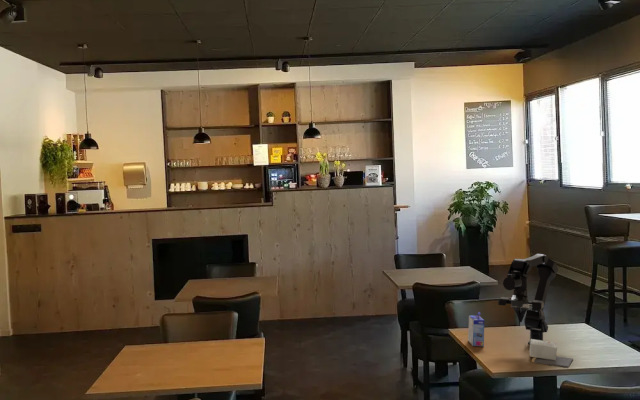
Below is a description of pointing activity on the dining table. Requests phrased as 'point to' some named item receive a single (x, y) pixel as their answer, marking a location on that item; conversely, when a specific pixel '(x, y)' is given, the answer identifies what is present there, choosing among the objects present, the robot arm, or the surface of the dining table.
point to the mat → (559, 361)
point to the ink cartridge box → (476, 330)
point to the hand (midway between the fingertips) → (520, 322)
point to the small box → (543, 349)
